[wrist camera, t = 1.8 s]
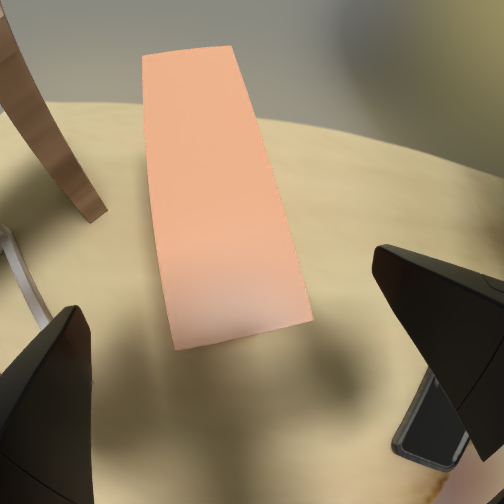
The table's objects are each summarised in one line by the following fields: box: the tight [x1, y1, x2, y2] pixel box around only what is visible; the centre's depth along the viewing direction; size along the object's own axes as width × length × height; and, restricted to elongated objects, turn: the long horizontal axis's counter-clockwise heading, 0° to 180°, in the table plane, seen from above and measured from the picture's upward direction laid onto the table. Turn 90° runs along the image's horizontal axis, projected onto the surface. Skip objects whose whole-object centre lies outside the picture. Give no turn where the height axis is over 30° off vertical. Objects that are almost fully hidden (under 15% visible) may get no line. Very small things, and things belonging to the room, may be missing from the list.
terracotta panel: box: [142, 46, 314, 351], centre depth 15 cm, size 12×4×10 cm, turn 13°
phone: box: [392, 367, 470, 472], centre depth 19 cm, size 8×1×15 cm
